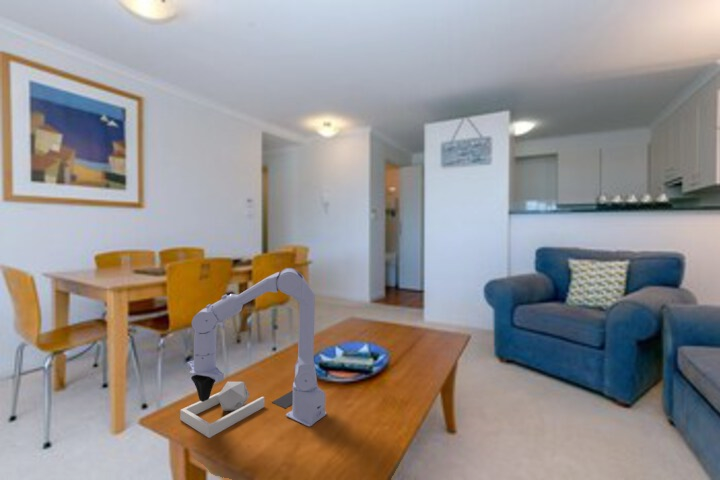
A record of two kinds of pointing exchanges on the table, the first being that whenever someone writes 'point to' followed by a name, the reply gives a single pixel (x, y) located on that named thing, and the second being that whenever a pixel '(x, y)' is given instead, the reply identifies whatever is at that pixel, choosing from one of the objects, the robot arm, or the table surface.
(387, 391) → the table surface
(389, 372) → the table surface
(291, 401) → the hole mat
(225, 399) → the die
